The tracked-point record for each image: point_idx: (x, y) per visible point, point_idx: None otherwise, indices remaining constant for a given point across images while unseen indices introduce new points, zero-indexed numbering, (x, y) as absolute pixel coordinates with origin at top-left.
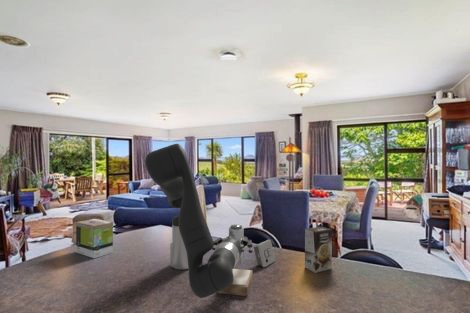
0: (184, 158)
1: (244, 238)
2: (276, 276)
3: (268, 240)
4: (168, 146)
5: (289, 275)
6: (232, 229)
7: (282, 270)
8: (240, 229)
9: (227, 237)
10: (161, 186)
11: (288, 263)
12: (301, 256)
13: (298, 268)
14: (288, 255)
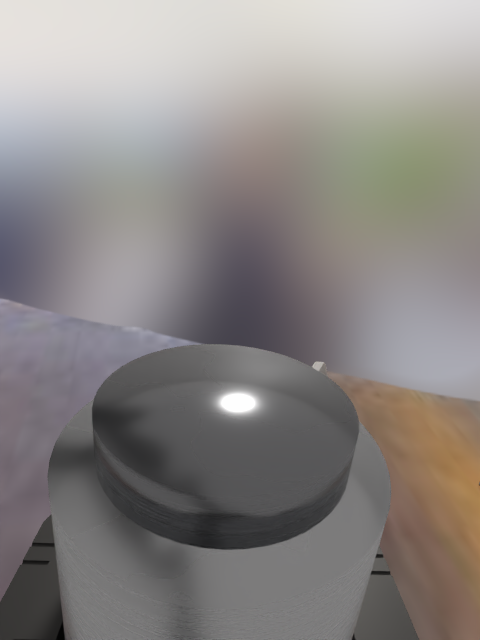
0: None
1: (366, 600)
2: (416, 608)
3: (321, 367)
4: None
5: (471, 580)
6: (140, 556)
7: (406, 526)
8: (364, 522)
9: (41, 593)
10: None
11: (393, 459)
12: (407, 407)
13: (459, 497)
14: (360, 404)
